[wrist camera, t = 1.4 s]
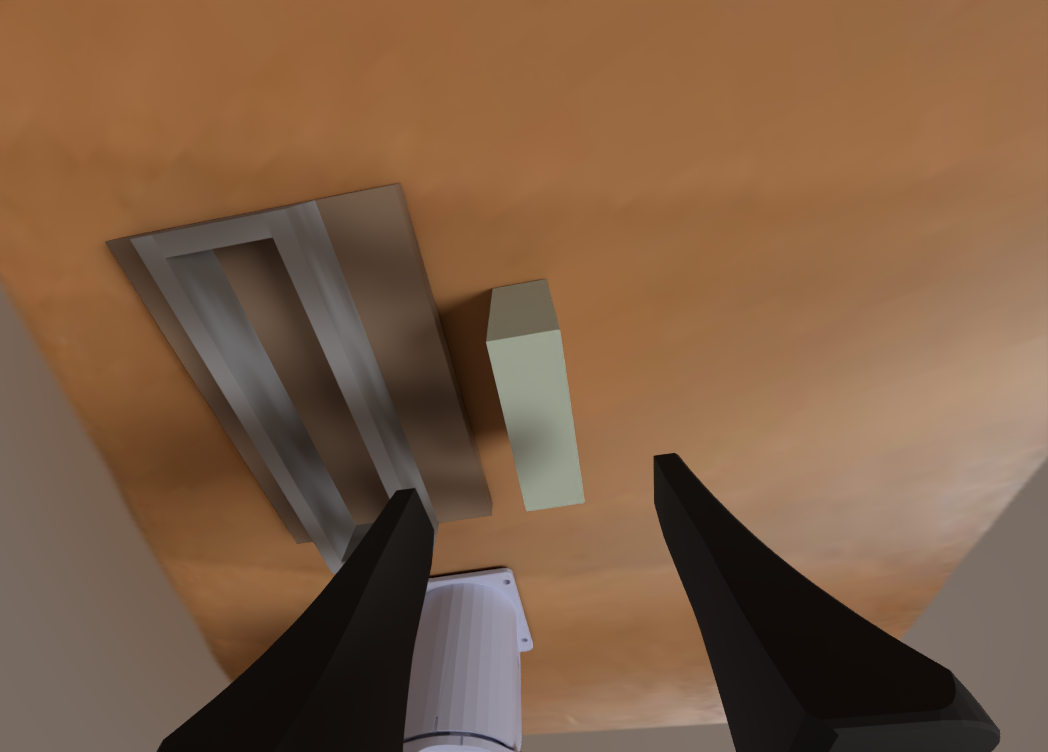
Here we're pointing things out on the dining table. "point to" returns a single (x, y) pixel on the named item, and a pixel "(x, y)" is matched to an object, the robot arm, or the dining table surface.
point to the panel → (534, 394)
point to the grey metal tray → (318, 358)
